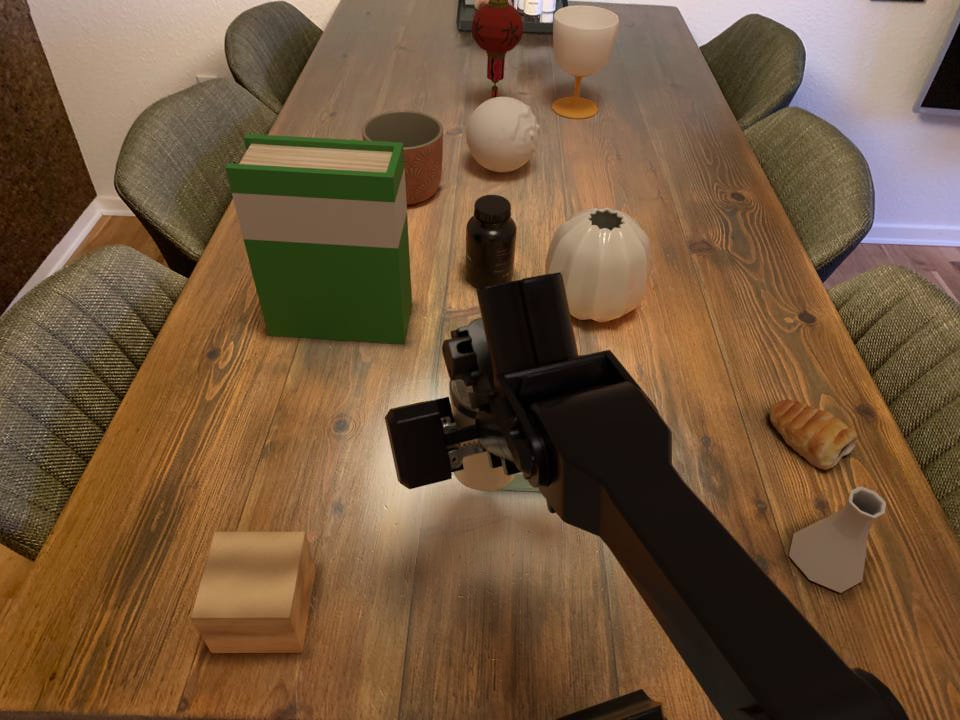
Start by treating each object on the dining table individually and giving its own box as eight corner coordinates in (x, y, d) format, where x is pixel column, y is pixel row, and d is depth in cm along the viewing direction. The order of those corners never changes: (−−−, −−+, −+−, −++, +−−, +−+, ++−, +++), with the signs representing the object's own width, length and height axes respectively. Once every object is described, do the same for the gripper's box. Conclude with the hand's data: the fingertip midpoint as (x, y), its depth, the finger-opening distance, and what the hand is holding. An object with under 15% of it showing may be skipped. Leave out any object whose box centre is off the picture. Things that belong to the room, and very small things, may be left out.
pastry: (753, 426, 82) (763, 404, 80) (785, 399, 86) (796, 377, 83) (826, 477, 78) (840, 456, 75) (857, 446, 81) (871, 425, 78)
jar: (470, 503, 64) (472, 424, 56) (438, 451, 68) (436, 371, 60) (532, 475, 66) (542, 396, 59) (497, 427, 71) (503, 347, 63)
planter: (398, 221, 110) (393, 157, 102) (352, 187, 116) (345, 125, 109) (459, 194, 116) (459, 131, 108) (413, 163, 122) (410, 102, 114)
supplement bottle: (455, 276, 101) (455, 203, 92) (487, 255, 104) (490, 183, 96) (490, 298, 97) (494, 225, 89) (523, 276, 101) (529, 203, 93)
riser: (302, 653, 63) (289, 617, 58) (211, 653, 62) (190, 618, 57) (316, 569, 68) (305, 531, 63) (232, 570, 68) (214, 531, 63)
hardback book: (267, 335, 91) (225, 167, 74) (283, 298, 96) (246, 133, 79) (404, 344, 91) (393, 177, 74) (412, 306, 96) (403, 142, 79)
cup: (564, 89, 144) (574, 0, 132) (615, 106, 140) (631, 15, 128) (533, 110, 137) (540, 18, 125) (585, 128, 133) (599, 34, 121)
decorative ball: (522, 192, 117) (527, 123, 108) (455, 176, 120) (454, 108, 111) (544, 158, 125) (551, 92, 116) (481, 144, 127) (483, 79, 119)
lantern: (485, 124, 133) (491, -55, 112) (460, 104, 139) (462, -71, 117) (527, 114, 136) (541, -62, 115) (502, 94, 142) (510, -77, 121)
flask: (809, 513, 74) (847, 455, 67) (877, 559, 71) (924, 502, 64) (775, 557, 71) (810, 500, 63) (844, 607, 67) (890, 553, 60)
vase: (524, 283, 100) (532, 201, 90) (610, 261, 104) (625, 180, 95) (571, 346, 91) (585, 263, 82) (662, 320, 95) (685, 237, 86)
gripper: (633, 291, 51) (559, 311, 67) (380, 342, 47) (362, 351, 62) (663, 441, 52) (582, 427, 67) (414, 506, 47) (388, 475, 62)
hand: (482, 417), depth 65 cm, fingers closed on jar, 6 cm apart
